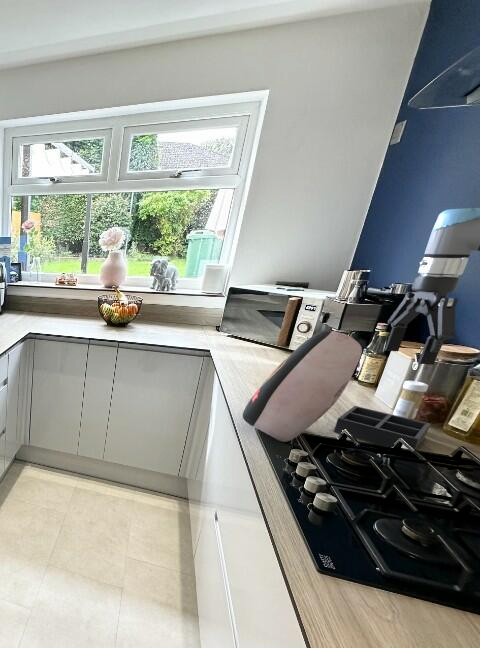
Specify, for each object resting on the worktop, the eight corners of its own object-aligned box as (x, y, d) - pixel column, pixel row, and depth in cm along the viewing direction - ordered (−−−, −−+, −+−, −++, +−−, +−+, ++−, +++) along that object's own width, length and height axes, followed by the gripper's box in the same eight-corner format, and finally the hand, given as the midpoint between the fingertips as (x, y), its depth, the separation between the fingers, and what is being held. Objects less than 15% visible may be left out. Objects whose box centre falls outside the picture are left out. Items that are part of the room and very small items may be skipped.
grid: (424, 439, 108) (430, 423, 107) (411, 455, 100) (418, 439, 98) (349, 419, 120) (354, 405, 118) (333, 432, 112) (338, 418, 110)
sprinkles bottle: (415, 429, 113) (434, 385, 109) (398, 429, 114) (416, 385, 109) (400, 423, 118) (417, 380, 113) (384, 422, 118) (400, 380, 113)
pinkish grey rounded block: (253, 413, 125) (278, 318, 115) (335, 433, 111) (372, 328, 101) (231, 434, 111) (257, 329, 101) (322, 461, 97) (363, 342, 87)
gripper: (387, 271, 112) (363, 345, 119) (458, 279, 90) (422, 369, 97) (422, 272, 110) (394, 347, 117) (502, 280, 87) (463, 371, 95)
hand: (407, 357), depth 107 cm, fingers open, 13 cm apart
